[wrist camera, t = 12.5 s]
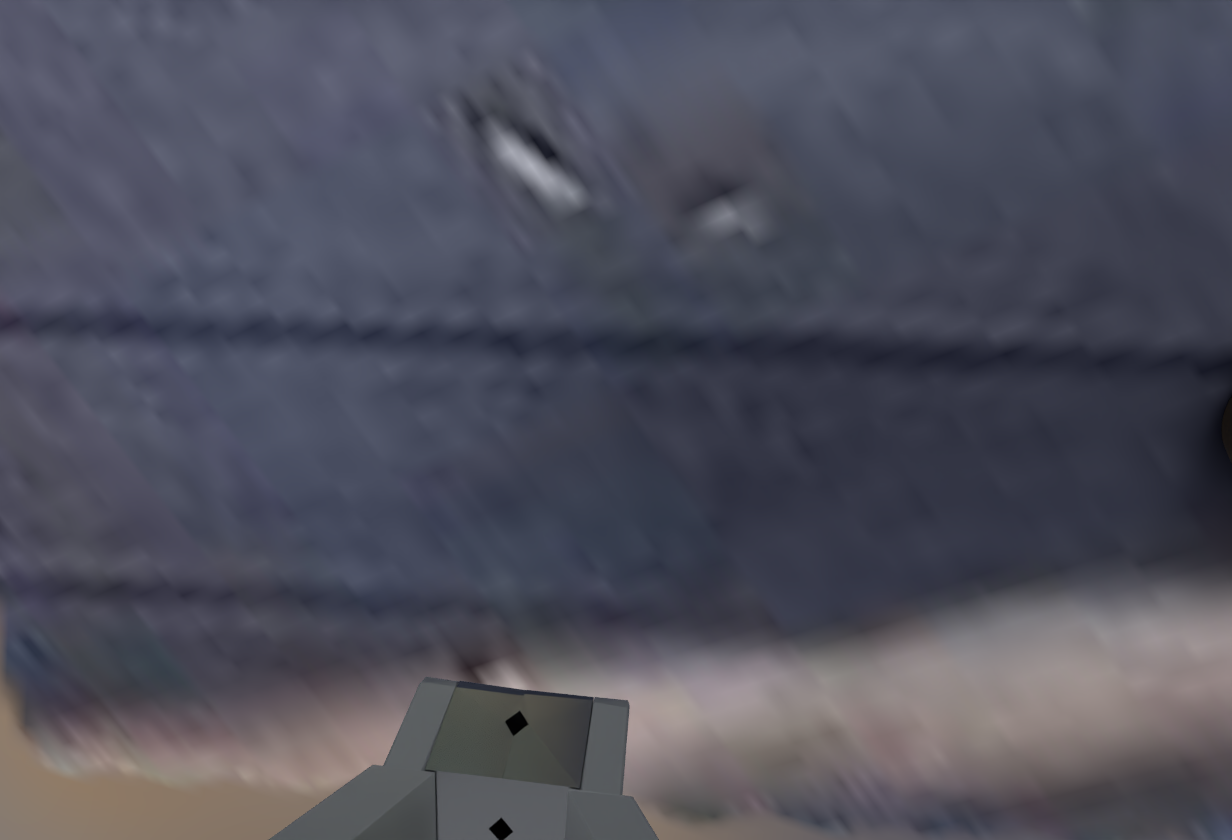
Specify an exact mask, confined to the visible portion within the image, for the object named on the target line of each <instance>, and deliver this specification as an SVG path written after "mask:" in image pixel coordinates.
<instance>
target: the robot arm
mask: <svg viewBox="0 0 1232 840" xmlns="http://www.w3.org/2000/svg"><path fill="white" fill-rule="evenodd" d="M593 701H594V703H593ZM628 718H629V702H628V700H618V699H608V698H598V697H595V698H594V697H586V696H577V695H568V694H559V693H549V692H540V691H531V690H520V689H513V688H506V687H499V686H492V685H485V684H478V683H471V682H464V681H460V682H458V681H451V680H444V679H438V678H431V677H425V679H424V680H423V681H422V682H421V683H420V684H419V686H418V688H417V691H416V693H415V695H414V697H413V700H412V702H411V704H410V706H409V709H408V711H407V713H406V715H405V718H404V720H403V722H402V724H401V727H400V729H399V731H398V734H397V736H396V738H395V740H394V743H393V745H392V747H391V749H390V752H389V754H388V756H387V758H386V761H385V763H384V765H383V766H379V765H372V766H371V767H369V768H368V769H366V770H365V771H364V772H362V773H361V774H359V775H358V776H357V777H355V778H354V779H352V780H351V781H350V782H348V783H347V784H345V785H344V786H343V787H341V788H340V789H338V790H337V791H336V792H334V793H333V794H332V795H330V796H329V797H327V798H326V799H325V800H323V801H322V802H320V803H319V804H318V805H316V806H315V807H313V808H312V809H311V810H309V811H308V812H307V813H305V814H304V815H302V816H301V817H299V818H298V819H297V820H295V821H294V822H292V823H291V824H290V825H288V826H287V827H286V828H284V829H283V830H282V831H280V832H279V833H277V834H276V835H274V836H273V837H272V838H270V839H269V840H659V839H658V837H657V836H656V834H655V832H654V831H653V829H652V828H651V826H650V824H649V823H648V821H647V819H646V818H645V816H644V814H643V813H642V811H641V809H640V808H639V806H638V805H637V803H636V801H635V800H634V798H633V797H631V796H624V795H622V792H623V780H624V767H625V755H626V743H627V731H628Z"/></svg>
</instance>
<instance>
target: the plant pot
mask: <svg viewBox="0 0 1232 840" xmlns="http://www.w3.org/2000/svg"><path fill="white" fill-rule="evenodd" d="M1221 430H1222V440H1223V444H1224V447H1225V449H1226V451H1227V454H1228V456H1229V458H1230V461H1231V463H1232V397H1231V398H1230V400H1229V402H1228V404H1227V407H1226V409H1225V411H1224V415H1223V420H1222V429H1221Z"/></svg>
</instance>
